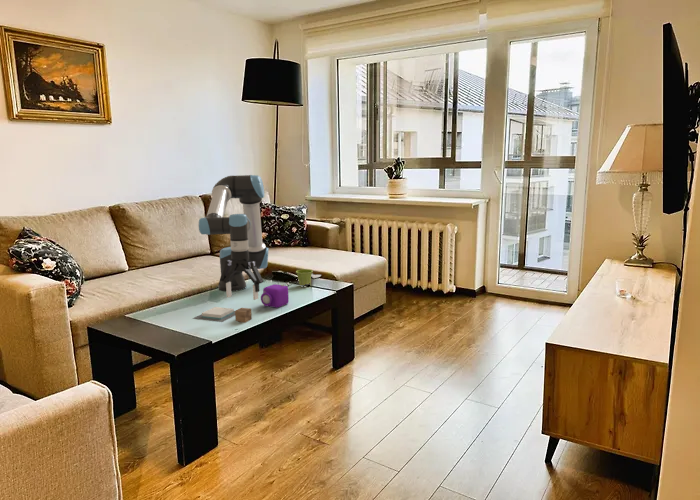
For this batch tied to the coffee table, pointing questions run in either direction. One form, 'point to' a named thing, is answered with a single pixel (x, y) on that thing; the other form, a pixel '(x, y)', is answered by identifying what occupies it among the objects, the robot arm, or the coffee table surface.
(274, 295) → the toy camera
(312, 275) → the paint knife
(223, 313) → the tile
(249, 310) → the block
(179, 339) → the coffee table surface
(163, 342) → the coffee table surface
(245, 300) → the coffee table surface
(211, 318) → the mat
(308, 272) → the plant pot
